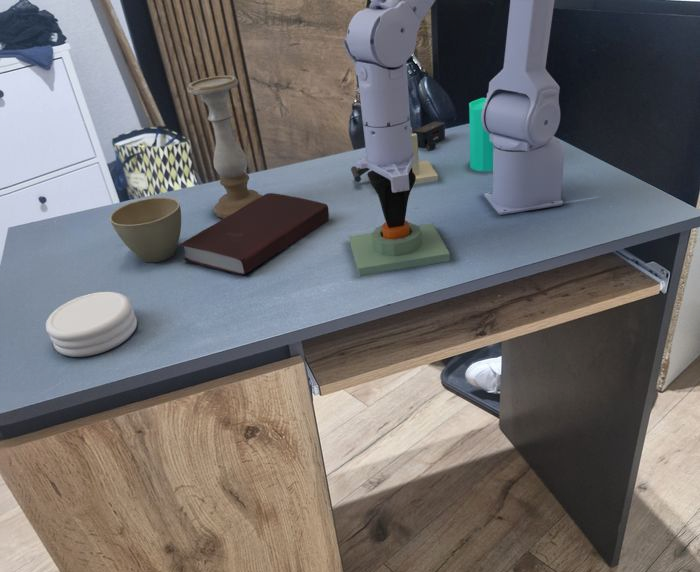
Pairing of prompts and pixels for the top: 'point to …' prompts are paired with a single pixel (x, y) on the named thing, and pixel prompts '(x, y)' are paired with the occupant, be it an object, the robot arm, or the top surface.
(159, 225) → the flower pot
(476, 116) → the candle
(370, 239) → the panel
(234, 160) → the candle holder
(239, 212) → the book
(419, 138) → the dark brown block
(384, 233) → the button
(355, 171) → the lever
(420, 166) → the stand
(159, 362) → the top surface
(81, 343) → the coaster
